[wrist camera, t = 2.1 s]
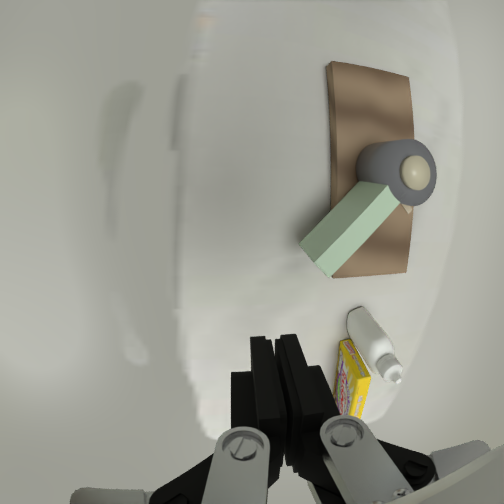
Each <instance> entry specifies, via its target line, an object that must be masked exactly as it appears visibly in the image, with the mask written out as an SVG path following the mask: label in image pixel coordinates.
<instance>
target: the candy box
mask: <svg viewBox="0 0 504 504" xmlns="http://www.w3.org/2000/svg"><path fill="white" fill-rule="evenodd" d="M370 380H371V376H370V374H369V372H368V370H367V368H366V366H365V364H364V363H363V361H362V359H361V357H360V355H359V353H358V351H357V349H356V348H355V346H354V344H353V342H352V340H351V339H347V340H342V341H340V346H339V356H338V364H337V371H336V379H335V386H334V393H333V397H334V400H335V402H336V405H337V407H338V410H339V412H340V414H341V415H350V416H354V417H357V418H359V419H360V418H361V415H362V411H363V408H364V404H365V400H366V396H367V393H368V389H369V384H370Z"/></svg>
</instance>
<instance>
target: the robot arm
mask: <svg viewBox="0 0 504 504" xmlns="http://www.w3.org/2000/svg"><path fill="white" fill-rule="evenodd" d="M250 349H251V371H246V372H231V429H229V430H227V431H226V432H224V433H223V434H222V435H221V436H220V437H219V438H218V441H217V443H216V447H215V451H214V453H213V454H212V455H210V456H209V457H208V458H206V459H205V460H203V461H202V462H200V463H199V464H197V465H196V466H195V467H193V468H191V469H190V470H188V471H187V472H185V473H183V474H182V475H180V476H179V477H177V478H175V479H174V480H172V481H170V482H169V483H167V484H165V485H164V486H162V487H160V488H159V489H157V490H156V491H154V492H144V491H143V490H120V489H100V488H89V487H88V488H80V489H78V490H75V492H74V493H73V494H72V495H71V499H70V504H267V497H268V488H269V487H270V486H271V485H272V484H274V483H275V482H276V481H277V480H278V479H279V473H280V467H282V464H283V456H284V455H285V460H286V465H287V466H292V467H293V472H294V473H297V472H298V474H299V476H300V477H302V478H304V479H306V480H307V483H308V486H309V489H310V491H311V493H312V495H313V498H314V500H315V502H316V504H504V444H503V445H501V446H499V447H497V448H495V449H493V450H490V448H489V446H488V445H487V444H486V443H485V442H483V441H480V440H475V441H471V442H468V443H464V444H461V445H458V446H454V447H451V448H447V449H443V450H438V451H434V452H432V453H431V454H430V455H425V454H422V453H419V452H416V451H412V450H409V449H405V448H402V447H399V446H396V445H393V444H390V443H387V442H384V441H381V440H378V439H376V438H375V436H374V435H373V433H372V432H371V430H370V429H369V428H368V426H367V425H366V424H365V423H364V422H363V421H362V420H361V419H359V418H357V417H354V416H350V415H341V414H340V412H339V410H338V407H337V405H336V402H335V400H334V397H333V395H332V393H331V390H330V388H329V385H328V383H327V381H326V378H325V376H324V374H323V371H322V369H321V367H320V366H319V365H316V366H308V365H307V363H306V360H305V357H304V354H303V352H302V349H301V346H300V344H299V341H298V338H297V335H296V334H286V335H281V336H280V339H275V355H274V351H273V346H272V341H271V339H270V340H266V338H265V336H257V337H250Z"/></svg>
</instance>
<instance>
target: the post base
mask: <svg viewBox="0 0 504 504" xmlns="http://www.w3.org/2000/svg"><path fill="white" fill-rule="evenodd" d="M326 71H327V83H328V96H329V114H330V138H331V210H332V209H333V208H334V207H335V206H336V205H337V204H338V203H339V202H340V201H341V200H342V199H343V198H344V197H345V196H346V195H347V193H348V192H349V191H350V190H351V189H352V188H353V187H354V186H355V185H356V184H357V183H358V182H359V181H358V178H357V174H356V163H357V159H358V156H359V154H360V153H361V151H362V150H363V149H364V148H365V147H366V146H368V145H370V144H373V143H379V142H386V141H394V140H402V139H414V124H413V111H412V100H411V91H410V83H409V77H406V76H402V75H399V74H395V73H391V72H387V71H383V70H379V69H374V68H369V67H365V66H359V65H354V64H348V63H342V62H336V61H331V62H330V63H329V64H328V65H327V66H326ZM412 220H413V206H408V205H404V204H400V203H399V205H398V206H397V207H396V208H395V209H394V210H393V211H392V212H391V214H390V215H389V216H388V217H387V218H386V219H385V220H384V221H383V222H382V224H381V225H380V226H379V227H378V228H377V229H376V230H375V231H374V232H373V233H372V234H371V235H370V237H369V238H368V239H367V240H366V241H365V242H364V243H363V244H362V245H361V246H360V247H359V248H358V249H357V250H356V251H355V252H354V253H353V254H352V255H351V256H350V257H349V259H348V260H347V261H346V262H345V263H344V264H343V265H342V266H341V267H340V268H339V269H338V270H337V271H336V272H335V273H334V274H333V275H332V278H346V277H359V276H372V275H384V274H396V273H406V271H407V264H408V257H409V249H410V240H411V231H412Z"/></svg>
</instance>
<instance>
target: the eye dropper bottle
mask: <svg viewBox="0 0 504 504" xmlns="http://www.w3.org/2000/svg"><path fill="white" fill-rule="evenodd" d="M347 330H348V333H349V336H350V338H351V339H352V341H353V343H354V344H355V346H356V347H357V349H358V351H359V352H360V354H361V355H362V357H363V359H364V360H365V362H366V363H367V365H368V367H369V368H370V369H371V371H372V372H373V373H375V374H380V375H381V376H382V378H383V380H385V381H394V382H395V383H396V384H399V383H400V382H401V380H402V379H401V377H400V374H401V372H402V365H401V364H400V363H399V361H398V360H397V359H396V357H395V351H394V346H393V344H392V342H391V340H390V338H389V337H388V335H387V334H386V333H385V332H384V330H383V329H382V328H381V327H380V325H379V324H378V323H377V322H376V321H375V319H374V318H373V317H372V316H371V315H370V314H369V312H368V311H367V310H366V309H365V308H364V307H360V308H358V309H355V310H353V311H351V312H350V313H349V315H348V319H347Z"/></svg>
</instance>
